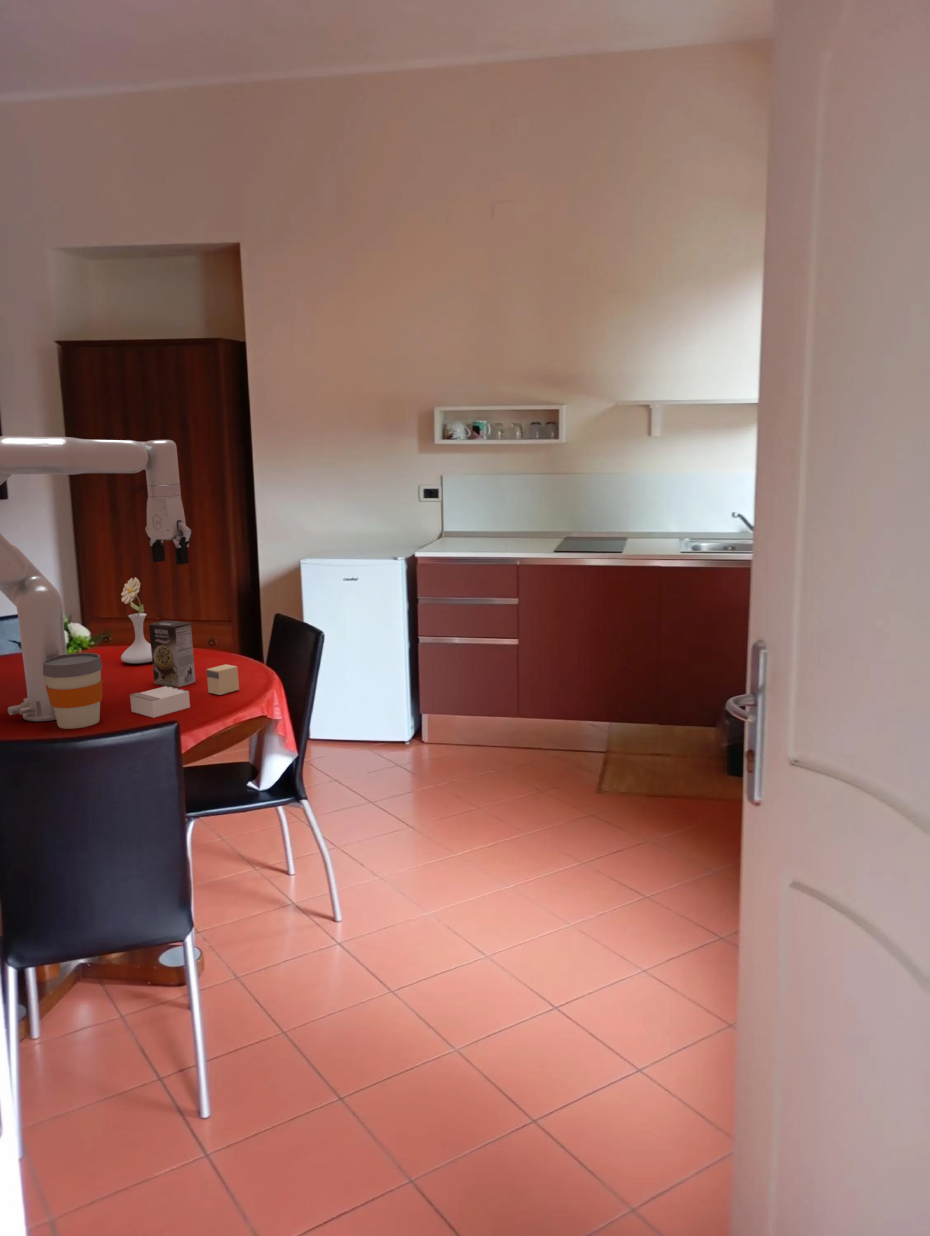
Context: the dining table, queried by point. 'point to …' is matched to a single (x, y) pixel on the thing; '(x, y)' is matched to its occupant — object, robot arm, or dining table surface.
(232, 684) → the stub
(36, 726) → the dining table surface
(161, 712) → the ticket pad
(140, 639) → the flower in vase
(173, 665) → the coffee box
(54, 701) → the reusable coffee cup
